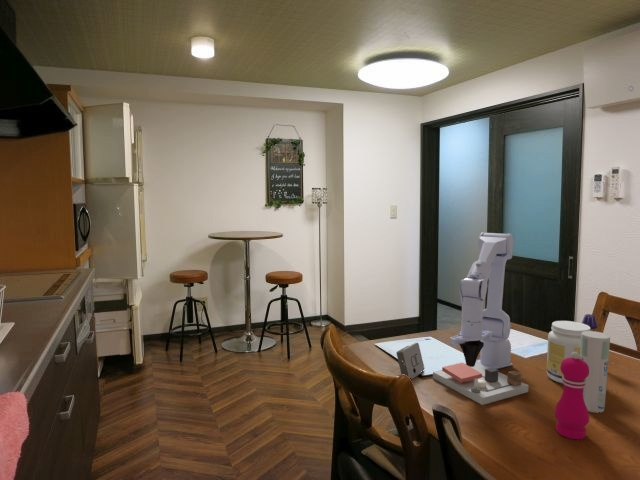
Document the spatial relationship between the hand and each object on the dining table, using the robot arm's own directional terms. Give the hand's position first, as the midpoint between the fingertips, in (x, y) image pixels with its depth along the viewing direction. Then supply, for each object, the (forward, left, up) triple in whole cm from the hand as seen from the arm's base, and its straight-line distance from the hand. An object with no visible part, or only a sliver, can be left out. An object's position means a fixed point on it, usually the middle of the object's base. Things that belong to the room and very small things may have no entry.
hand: (470, 365), depth 133 cm
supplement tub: (-33, +8, -8) cm, 35 cm away
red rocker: (0, -3, -4) cm, 5 cm away
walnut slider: (-11, +6, -5) cm, 14 cm away
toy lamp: (-50, +3, -8) cm, 51 cm away
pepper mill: (-4, +29, -8) cm, 30 cm away
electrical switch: (+8, -17, -8) cm, 20 cm away
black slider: (-7, +2, -5) cm, 9 cm away
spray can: (-21, +23, -8) cm, 32 cm away
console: (-5, -1, -7) cm, 9 cm away
